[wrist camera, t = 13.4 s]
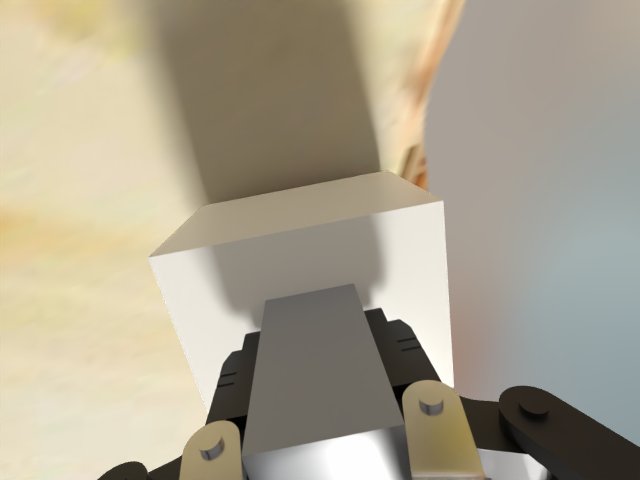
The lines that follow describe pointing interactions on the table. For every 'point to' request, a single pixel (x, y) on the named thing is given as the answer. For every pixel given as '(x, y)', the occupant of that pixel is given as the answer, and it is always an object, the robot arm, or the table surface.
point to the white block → (312, 316)
